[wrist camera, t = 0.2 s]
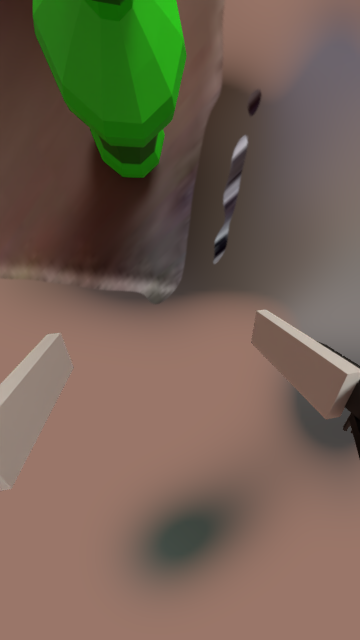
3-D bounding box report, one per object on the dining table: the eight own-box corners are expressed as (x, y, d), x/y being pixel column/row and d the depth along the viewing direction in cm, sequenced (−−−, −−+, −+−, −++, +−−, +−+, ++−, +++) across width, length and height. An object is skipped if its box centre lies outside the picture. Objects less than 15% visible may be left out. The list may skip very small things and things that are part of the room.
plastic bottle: (170, 119, 28) (269, -300, 6) (153, 196, 32) (176, 115, 10) (101, 82, 25) (-198, -981, 3) (92, 172, 29) (-70, -19, 7)
